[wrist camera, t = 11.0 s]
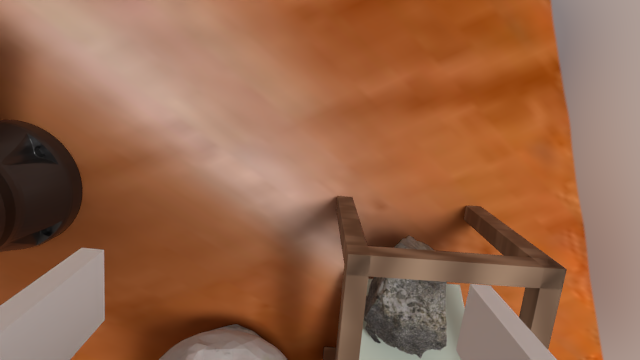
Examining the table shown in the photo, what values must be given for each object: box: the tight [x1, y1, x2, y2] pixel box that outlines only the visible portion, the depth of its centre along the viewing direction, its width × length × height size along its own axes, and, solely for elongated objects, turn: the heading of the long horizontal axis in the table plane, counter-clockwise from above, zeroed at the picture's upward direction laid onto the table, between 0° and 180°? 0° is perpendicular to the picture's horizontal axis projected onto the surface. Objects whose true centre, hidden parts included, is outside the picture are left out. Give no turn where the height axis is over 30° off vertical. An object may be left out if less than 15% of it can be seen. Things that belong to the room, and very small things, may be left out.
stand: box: [323, 196, 567, 360], centre depth 43 cm, size 18×23×18 cm
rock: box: [364, 235, 447, 358], centre depth 44 cm, size 13×9×6 cm
